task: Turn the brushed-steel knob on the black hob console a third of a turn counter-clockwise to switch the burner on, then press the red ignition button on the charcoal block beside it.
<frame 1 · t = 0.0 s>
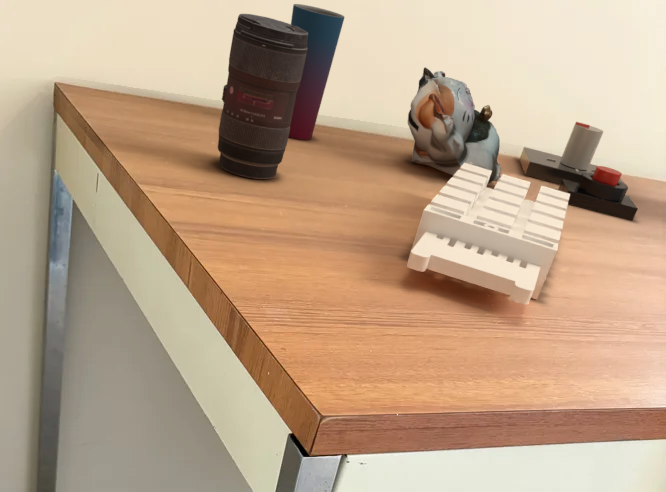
hob console: (568, 179, 129), on the table
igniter: (594, 205, 118), on the table
lucky cat figurine: (445, 173, 116), on the table
cup: (293, 135, 116), on the table
organizer: (483, 256, 88), on the table
ignition button: (606, 176, 116), point 4 cm above the table, slide at 0.1 cm
camera lens: (247, 172, 96), on the table
hob knob: (581, 145, 126), point 5 cm above the table, hinge at 0.0°
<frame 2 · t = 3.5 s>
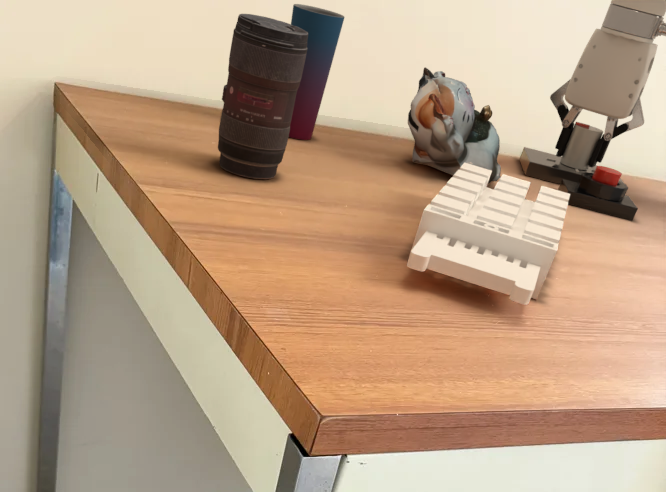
hand: (576, 159, 128), 3 cm above the table, tool pointing down, fingers closed on hob knob, 4 cm apart
hob knob: (581, 145, 126), point 5 cm above the table, hinge at -0.1°, touching gripper
everything else where it was.
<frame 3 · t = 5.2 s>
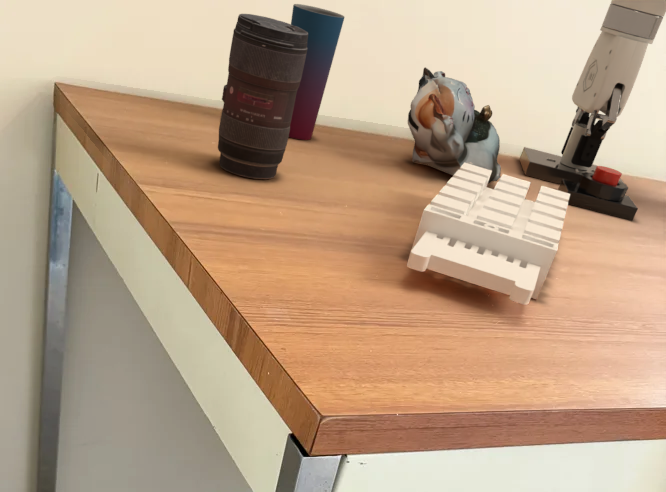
hand: (576, 159, 128), 3 cm above the table, tool pointing down, fingers closed on hob knob, 4 cm apart
hob knob: (581, 145, 126), point 5 cm above the table, hinge at 120.3°, touching gripper
everything else where it was.
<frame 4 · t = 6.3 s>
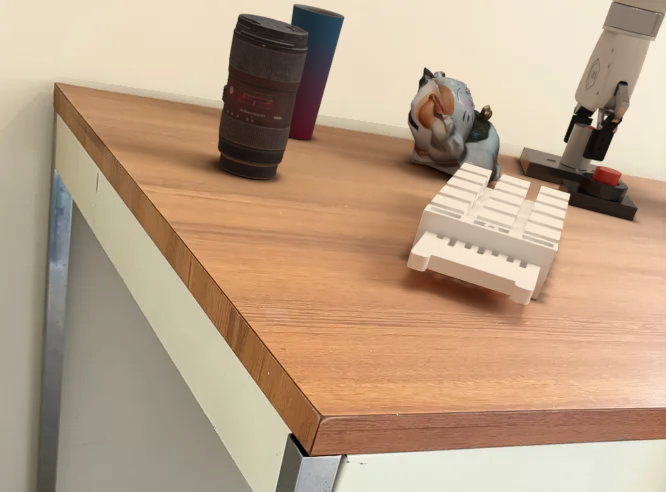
hand: (582, 151, 127), 4 cm above the table, tool pointing down, fingers open, 9 cm apart
hob knob: (581, 145, 126), point 5 cm above the table, hinge at 119.2°
everything else where it was.
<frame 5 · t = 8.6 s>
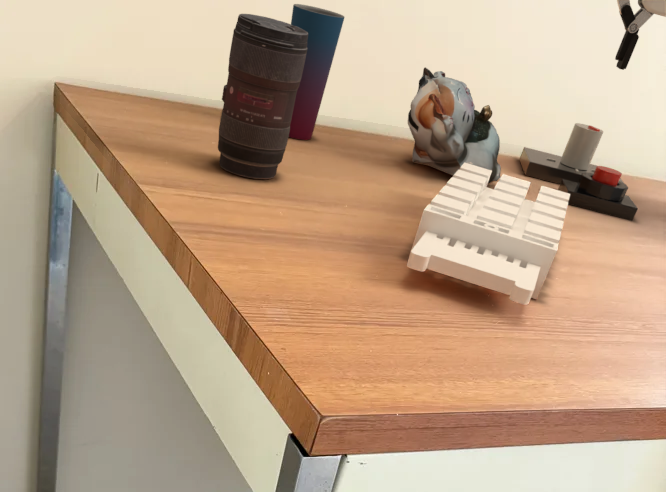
hand: (650, 74, 108), 17 cm above the table, tool pointing down, fingers open, 7 cm apart
nothing on the table moved.
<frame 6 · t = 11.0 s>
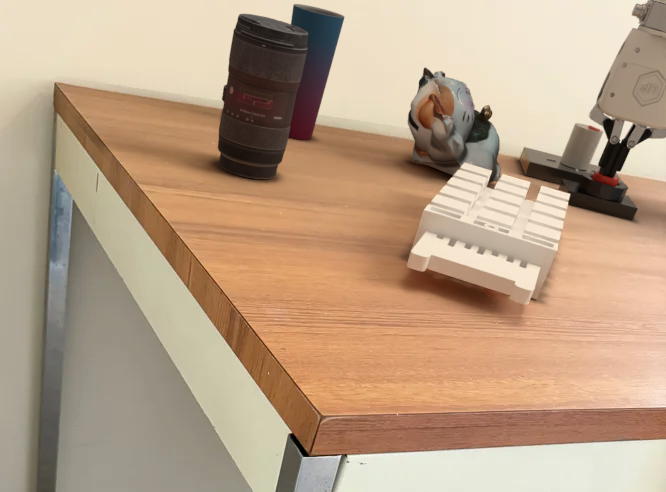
hand: (606, 174, 116), 4 cm above the table, tool pointing down, fingers closed
ignition button: (604, 181, 116), point 3 cm above the table, slide at -0.5 cm, touching gripper
everything else where it was.
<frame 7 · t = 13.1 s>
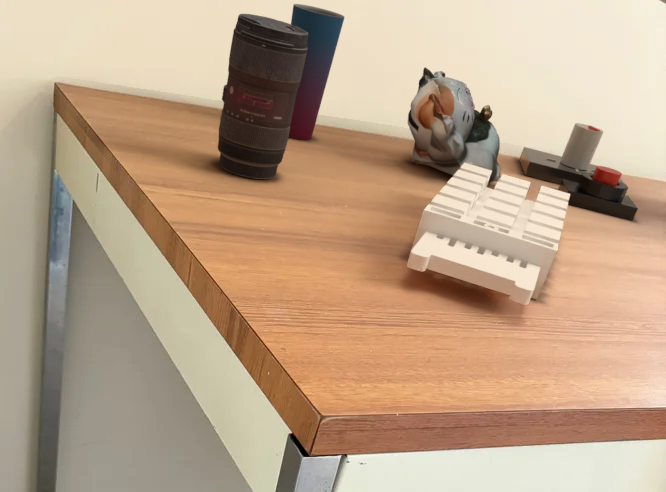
ignition button: (606, 176, 116), point 4 cm above the table, slide at 0.1 cm
everything else where it was.
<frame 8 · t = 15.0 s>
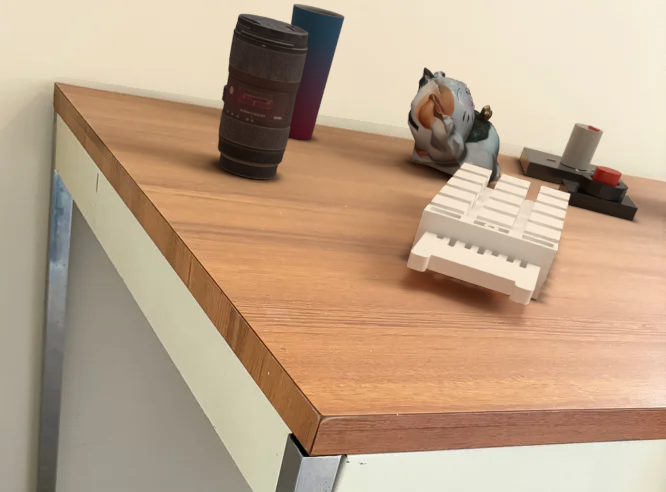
nothing on the table moved.
at the end: hob knob at +119° (first picture: +0°); ignition button pushed in 1.1 cm at the most during the clip, back to where it started at the end; ignition button slide at 0.1 cm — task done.
